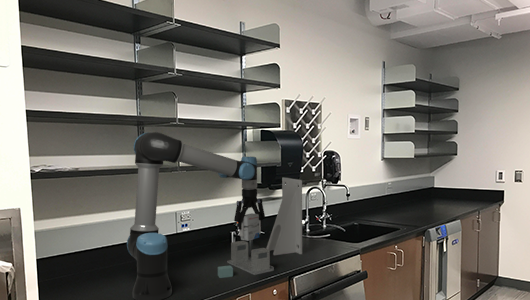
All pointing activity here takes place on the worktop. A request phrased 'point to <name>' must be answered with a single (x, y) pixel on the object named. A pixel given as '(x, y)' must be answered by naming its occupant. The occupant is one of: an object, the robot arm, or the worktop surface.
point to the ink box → (251, 227)
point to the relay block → (225, 271)
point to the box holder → (255, 263)
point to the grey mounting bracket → (288, 220)
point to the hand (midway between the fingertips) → (250, 234)
